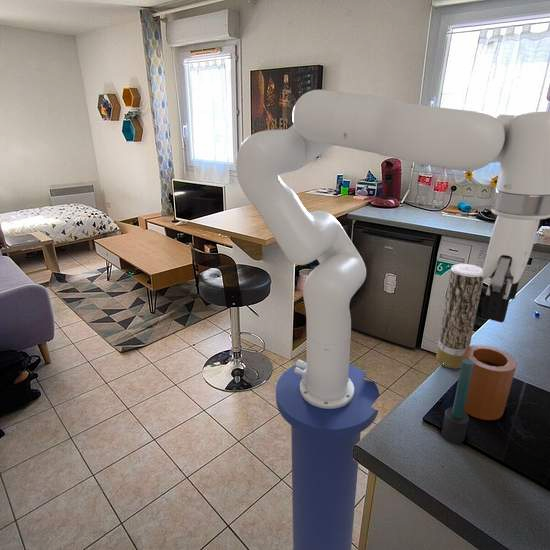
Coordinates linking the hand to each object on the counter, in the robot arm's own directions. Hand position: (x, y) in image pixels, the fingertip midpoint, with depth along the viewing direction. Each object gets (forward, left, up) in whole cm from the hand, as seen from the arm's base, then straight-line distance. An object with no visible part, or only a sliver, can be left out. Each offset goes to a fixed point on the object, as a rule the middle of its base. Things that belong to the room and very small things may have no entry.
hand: (498, 307), depth 60 cm
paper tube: (-9, +22, -28) cm, 36 cm away
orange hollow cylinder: (0, +10, -27) cm, 29 cm away
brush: (-2, -2, -27) cm, 28 cm away
